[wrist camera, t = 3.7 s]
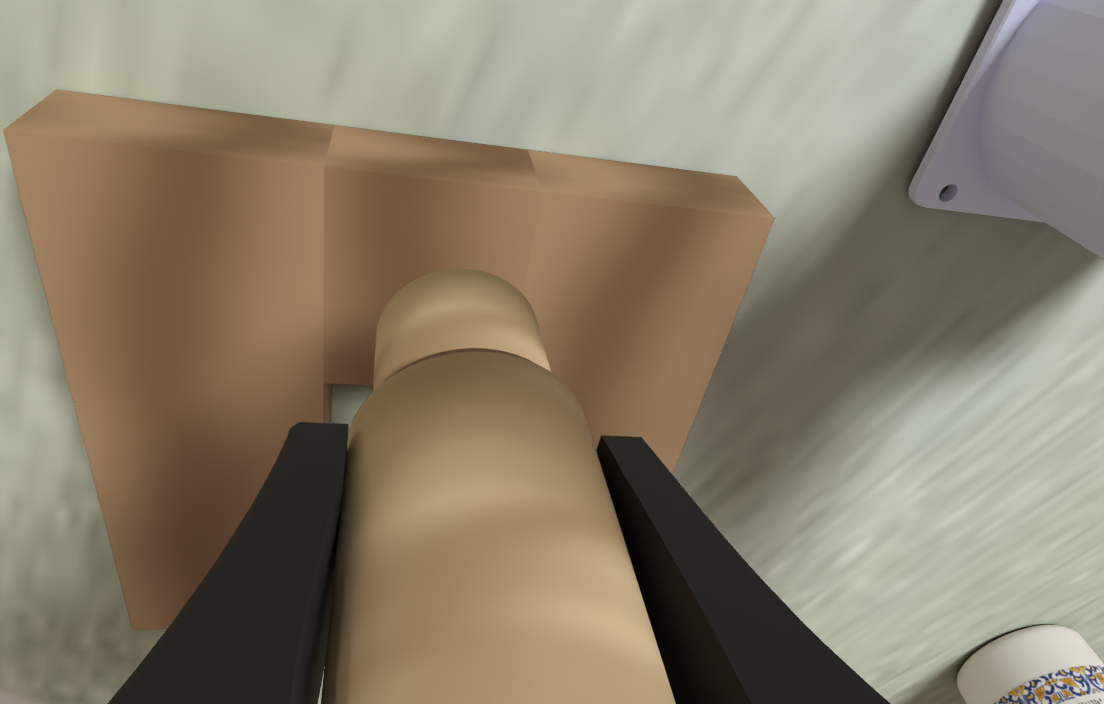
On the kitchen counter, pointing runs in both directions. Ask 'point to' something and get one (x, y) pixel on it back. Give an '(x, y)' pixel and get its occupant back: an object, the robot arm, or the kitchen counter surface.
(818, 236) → the kitchen counter surface
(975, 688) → the bath foam
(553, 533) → the peg
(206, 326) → the board
